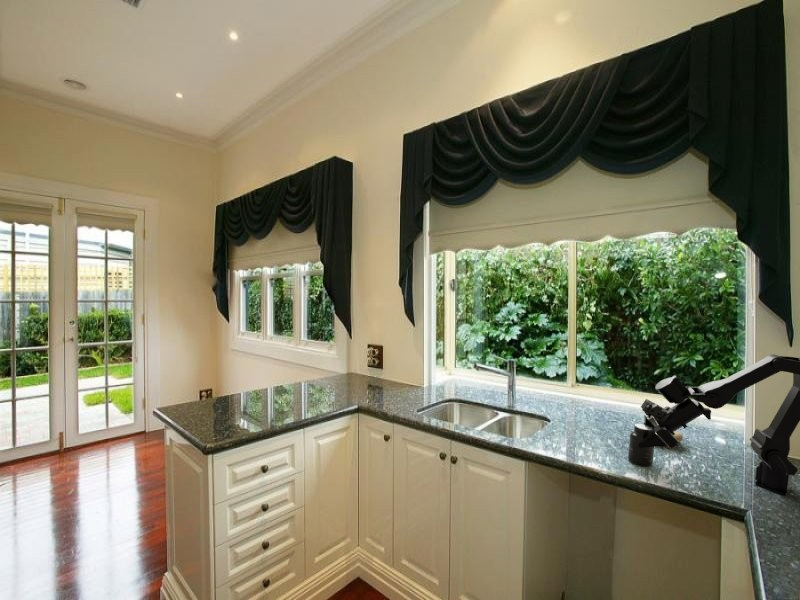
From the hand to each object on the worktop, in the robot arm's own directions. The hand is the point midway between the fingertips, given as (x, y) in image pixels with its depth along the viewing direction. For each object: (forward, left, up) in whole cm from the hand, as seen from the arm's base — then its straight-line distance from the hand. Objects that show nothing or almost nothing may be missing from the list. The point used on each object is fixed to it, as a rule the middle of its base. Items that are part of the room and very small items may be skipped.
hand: (636, 441), depth 123 cm
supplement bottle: (-1, -1, -7) cm, 7 cm away
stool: (+3, -24, -7) cm, 25 cm away
